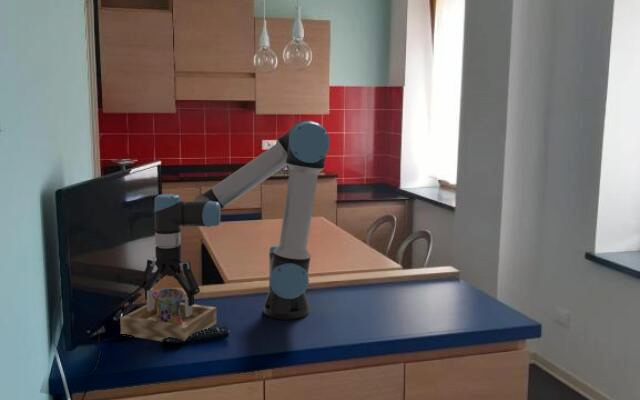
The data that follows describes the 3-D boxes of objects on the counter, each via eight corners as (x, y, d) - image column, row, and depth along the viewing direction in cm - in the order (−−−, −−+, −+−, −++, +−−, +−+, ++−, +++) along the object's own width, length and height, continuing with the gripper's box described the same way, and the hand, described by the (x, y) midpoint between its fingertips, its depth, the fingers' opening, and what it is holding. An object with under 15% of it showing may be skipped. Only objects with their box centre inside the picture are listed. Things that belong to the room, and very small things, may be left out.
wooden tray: (216, 322, 193) (216, 307, 192) (185, 345, 175) (184, 327, 174) (156, 314, 199) (156, 299, 199) (120, 334, 182) (120, 318, 181)
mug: (185, 330, 183) (184, 296, 181) (153, 333, 180) (152, 299, 178) (182, 317, 194) (181, 285, 192) (152, 319, 191) (151, 287, 190)
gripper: (210, 246, 183) (211, 313, 186) (140, 239, 190) (142, 304, 194) (198, 252, 176) (199, 322, 179) (125, 244, 183) (128, 311, 187)
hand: (169, 312), depth 186 cm, fingers open, 13 cm apart
